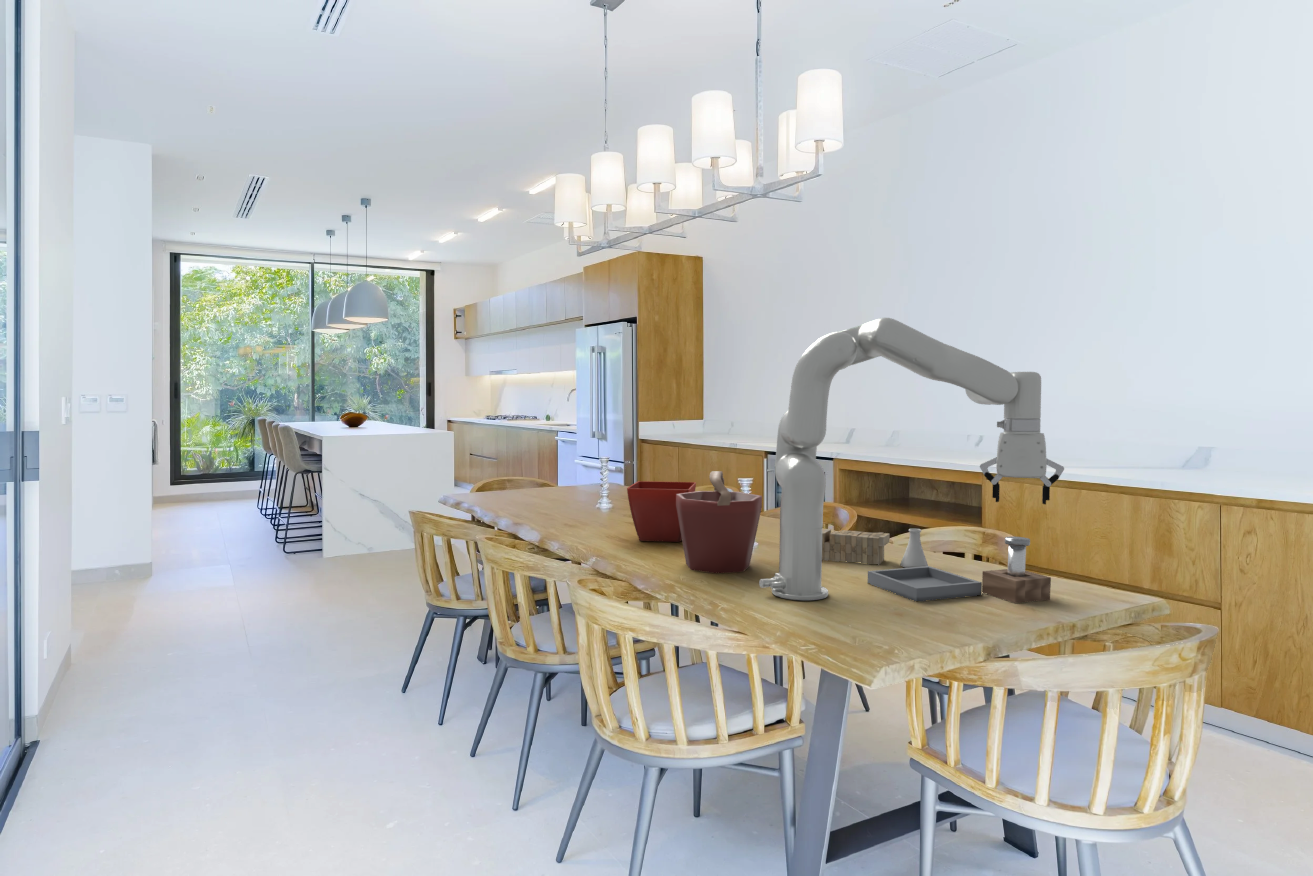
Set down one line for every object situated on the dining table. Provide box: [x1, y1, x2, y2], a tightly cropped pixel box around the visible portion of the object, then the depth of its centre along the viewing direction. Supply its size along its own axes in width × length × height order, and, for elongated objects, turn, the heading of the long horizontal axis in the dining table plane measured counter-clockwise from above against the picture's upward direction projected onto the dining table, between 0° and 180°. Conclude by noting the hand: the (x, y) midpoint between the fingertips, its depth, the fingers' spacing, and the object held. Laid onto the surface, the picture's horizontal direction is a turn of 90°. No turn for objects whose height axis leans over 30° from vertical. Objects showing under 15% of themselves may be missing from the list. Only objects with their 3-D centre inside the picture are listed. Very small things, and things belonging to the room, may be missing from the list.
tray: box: [867, 565, 982, 602], centre depth 189 cm, size 18×18×3 cm
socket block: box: [981, 568, 1052, 604], centre depth 183 cm, size 10×10×5 cm
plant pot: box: [626, 480, 697, 543], centre depth 251 cm, size 19×19×17 cm
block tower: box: [822, 528, 891, 566], centre depth 224 cm, size 8×8×29 cm
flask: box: [899, 528, 929, 568], centre depth 213 cm, size 7×7×10 cm
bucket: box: [676, 470, 763, 575], centre depth 211 cm, size 24×22×25 cm
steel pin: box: [1004, 536, 1031, 577], centre depth 183 cm, size 5×5×13 cm
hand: (1020, 502), depth 182 cm, fingers open, 9 cm apart
